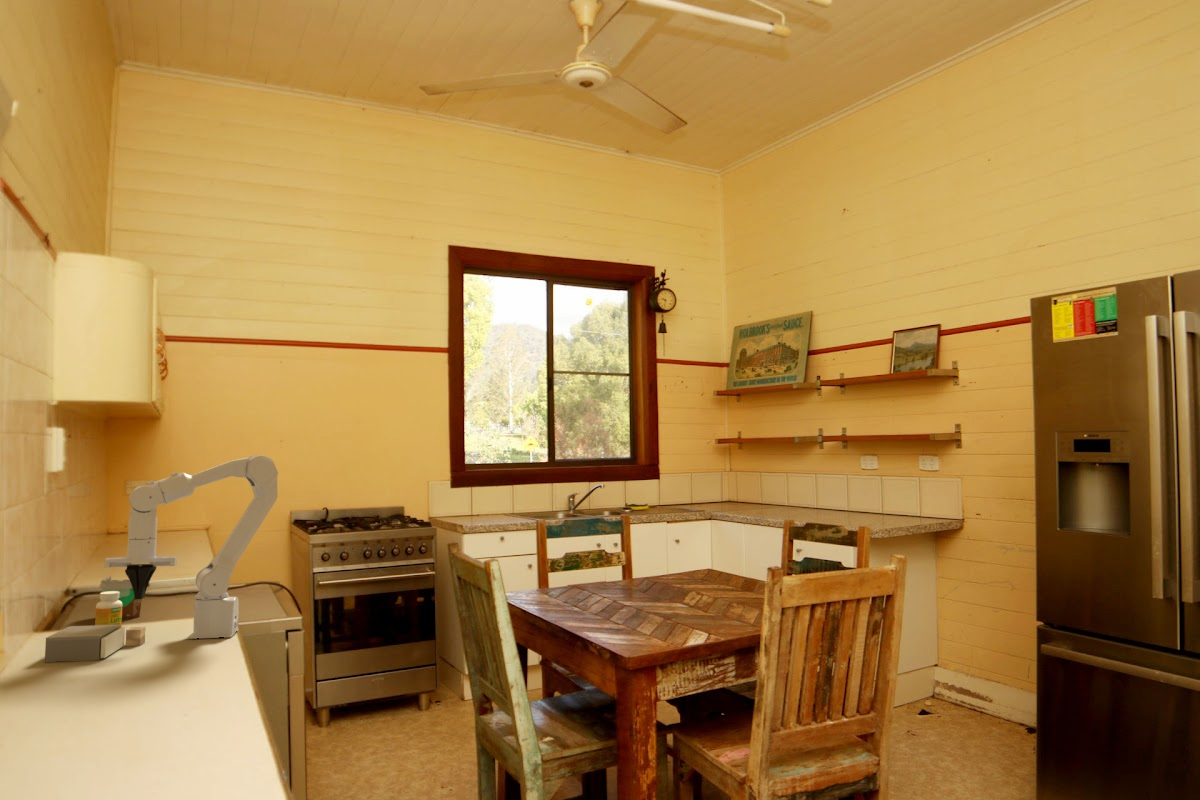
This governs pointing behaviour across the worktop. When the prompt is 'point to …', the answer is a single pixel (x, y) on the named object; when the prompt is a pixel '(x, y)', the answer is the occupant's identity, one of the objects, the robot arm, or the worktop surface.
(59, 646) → the grey boxy piece
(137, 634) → the block
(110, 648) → the tray
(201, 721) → the worktop surface
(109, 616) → the supplement bottle
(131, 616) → the food container
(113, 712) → the worktop surface
